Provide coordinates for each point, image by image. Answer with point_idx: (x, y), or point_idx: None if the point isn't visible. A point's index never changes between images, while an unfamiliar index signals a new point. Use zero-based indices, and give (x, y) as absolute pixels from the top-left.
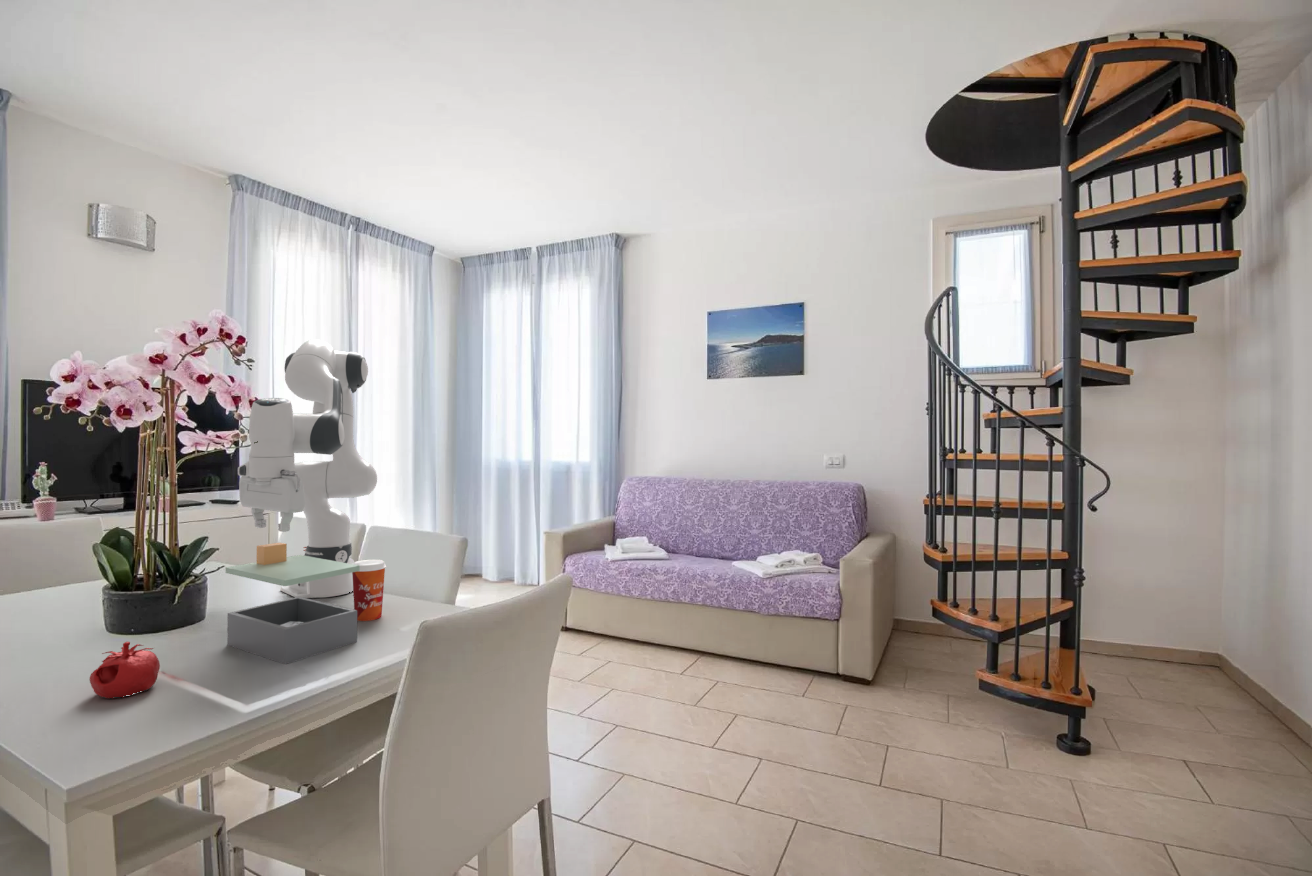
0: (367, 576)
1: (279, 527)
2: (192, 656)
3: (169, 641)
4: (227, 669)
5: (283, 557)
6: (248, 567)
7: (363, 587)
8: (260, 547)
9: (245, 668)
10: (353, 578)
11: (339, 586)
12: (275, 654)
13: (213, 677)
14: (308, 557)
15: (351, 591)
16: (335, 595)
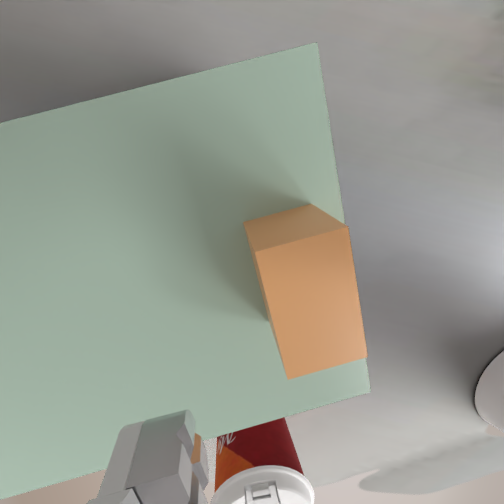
0: (219, 477)
1: (158, 443)
2: (255, 22)
3: (428, 6)
4: (88, 64)
5: (269, 320)
6: (225, 143)
7: (225, 440)
8: (297, 237)
9: (69, 99)
10: (260, 445)
11: (494, 406)
12: None
13: (43, 20)
14: (284, 404)
15: (480, 415)
16: (478, 385)
